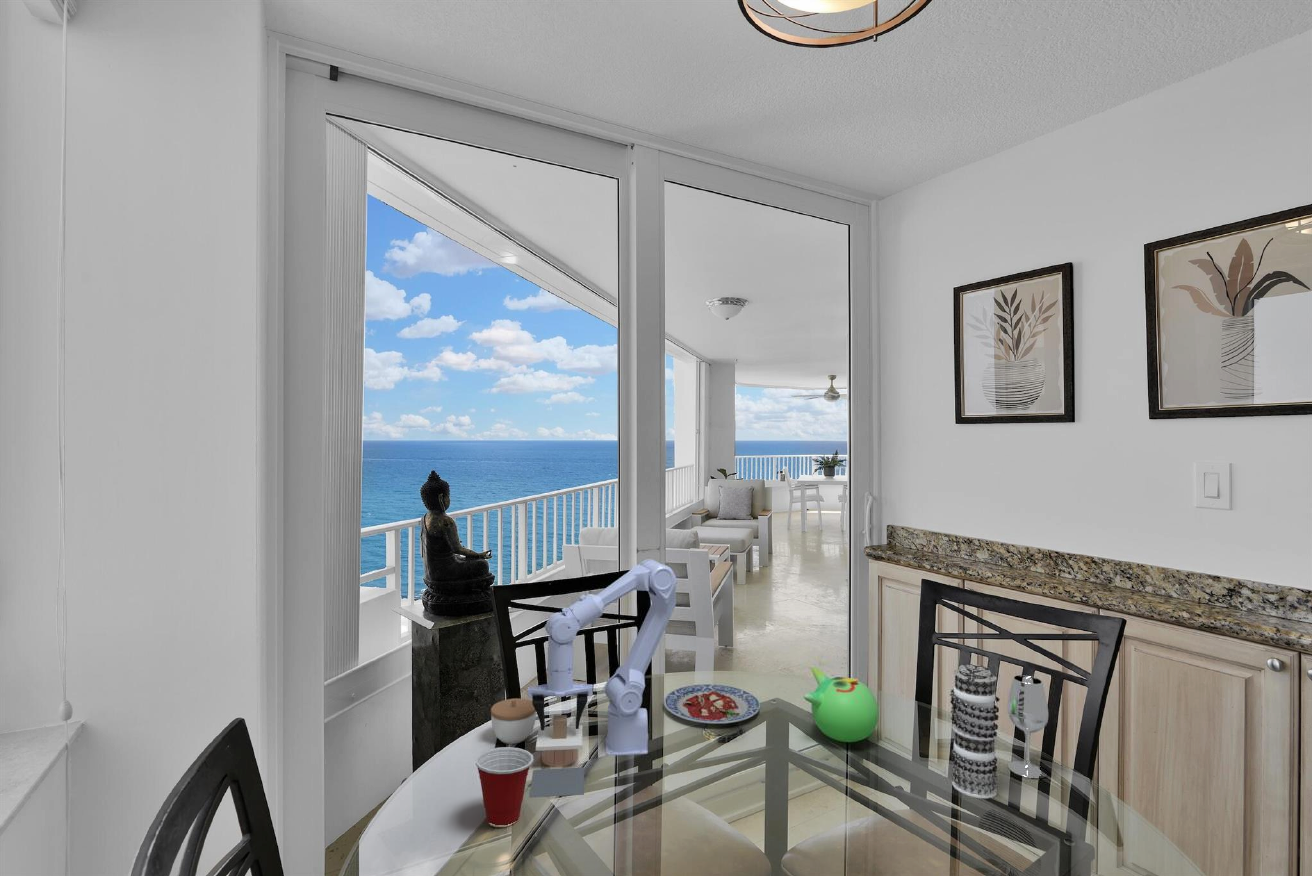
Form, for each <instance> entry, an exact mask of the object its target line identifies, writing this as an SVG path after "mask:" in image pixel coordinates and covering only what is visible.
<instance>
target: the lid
mask: <svg viewBox="0 0 1312 876" xmlns="http://www.w3.org/2000/svg"><path fill="white" fill-rule="evenodd" d="M535 743H536V744H535V752H537V751H539V752H542V750H566V749H578V750H582V749H583V724H581V725H580V724H579V729H576V725H568V715H567V714H560V715H559V714H558V715H556V714H555V715H553V719H552V726H545V728H544V730H541V726H539V727H538V732H537V738H536V742H535Z"/></svg>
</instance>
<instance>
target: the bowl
mask: <svg viewBox="0 0 1312 876" xmlns="http://www.w3.org/2000/svg"><path fill="white" fill-rule="evenodd" d="M578 752H579V749H566V750H542V751H541V762H543V764H545V765H546V766H550V767H553V768H554V767H557V768H559V767H566V766H570V765H572V764H574V763H575V762H576V761H577V760H578V759H579V755H578V754H579V753H578Z"/></svg>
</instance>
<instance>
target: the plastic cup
mask: <svg viewBox="0 0 1312 876" xmlns="http://www.w3.org/2000/svg"><path fill="white" fill-rule="evenodd" d="M533 762H534V754H532V753H531V752H529V751H528V750H525V749H523V748H519V747H511V746H507V747H504V746H503V747H494V748H490V749H487V750H485V751H483V752H480V753H479V754H478V755H477V756H476V757H475V766H476V767H477V770H478V771H477V772H478V775H479V780H480V786H481V787H480V788H481V795H482V801H483V808H484V809H485V816H486V817H485V818H486V822H487V821H488V822H489V823H492V824H495V825H508V824H511V823H513V822H515V821H517V820H518V821H519V819H518V818H520V816H521V809H522V803H523V799H524V793H525V788H526V785H527V779H528V778H527V777H528V774H529V771H530V767H531V765H532V764H533ZM518 821H517V822H518ZM488 822H487V823H488Z"/></svg>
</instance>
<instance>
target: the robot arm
mask: <svg viewBox="0 0 1312 876" xmlns="http://www.w3.org/2000/svg"><path fill="white" fill-rule="evenodd" d="M677 583H678V579H677V577H676V575H675V572H674V570H673V569H672V568H671V567H670V566H667V565H665V564H663V563H661V562H658V561H657V560H655V559H652V558H651V559H650V558H647V559H645V560H643V561H642V562H640V564H638V563H637V564H636V565H634V566H633V567H632V568H631V569H630V570H629V571H628V572H626V573H624V574H623V575H622V576H620V577H619V578H618V579H617V580H615V581H614V582H612V583H611V584H610V585H608V586H607V587H606V588H604V589H603V590H601V591H600V592H598V593H597V594H593V593H589V594H586V595H585V594H582V595H580V596H578V597H579V600H577V601H576V602H574V603H573V604H571V605H570V606H568V607H566V606H565V607H563V608H562V609H561V611H562V612H561V611H559V612H555V613H552V614H551V615H550V616H549V617H548V619H547V620H546V624H545V625H544V628H545V632H546V633H547V634H548V641H547V642H548V646H547V683H546V684H541V685H539V684H538V685H533V686H527V696H526V697H527V698H526V699H532V700H531V701H532V704H533V707H534V708H535V710H536V716H537V717H538V720H539V724H540V726H539V727H541V730H544V728H545V727H546V726H545V725H546V721H545V720H546V718H545V697H555V698H561V697H563V698H564V697H568V696H569V697H570V696H572V697H573V696H576V715H575V726H576V729H579V725H580V723H581V718H582V715H583V713H584V710H585V707H586V705H587V704H588V698H589V697H593V692H594V691H593V689H594V687H593V686H594V685H593V684H589V683H587V684H586V683H576V682H575V683H574V639H575V638H576V635H577V633H578V632H579V631H581V630H583V628H585V627H586V626H588V625H589V624H591V623H593V622H595V620H597V619H599V618H600V617H602V616H603V615H604V614H603V613H604V610H605V608H606V607H607V606H609V605H611V604H612V603H614V602H615V601H617V600H619V599H621V598H623V597H624V596H626V595H628V594H629V593H631V592H633V591H643V592H644V591H647V592H648V594H649V598H650V600H651V605H650V607H649V608H648V610H647V613H646V616H645V618H644V621H642V624H641V626H640V629H639V631H638V633H637V635H636V636H635V637H636V638H635V639H634V642H633V644H632V646H631V648H630V650H629V653H628V654H627V657H626V659H625V662H624V663H623V664H622V665H621V666H619V667H618V668H617V669H616V671H615V672H614V674H613V675H612V676H611V677H610V678H608V681H606V684H605V686H604V692H605V696H606V697H607V699H609V703H608V706H607V738H605V754H606V756H627V755H628V756H629V755H630V756H631V755H647V754H648V753H649V750H648V742H649V733H648V731H649V729H648V728H649V727H648V726H649V725H648V710H647V708H643V707H641V706H642V703H643V693H644V690H645V687H646V683H645V682H646V681H645V674H646V672H647V670H648V667H649V666H650V663H651V661H652V659H653V657H654V655H655V652H656V650H657V648H658V646H659V644H660V641H661V639H662V637H663V634H664V632H665V630H666V628H667V626H668V623H669V622H670V619H671V616H672V615H673V613H674V610H675V608H676V605H677V599H676V598H677V595H676V594H677V593H676V592H677V591H676V590H677V589H676V586H677Z"/></svg>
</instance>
